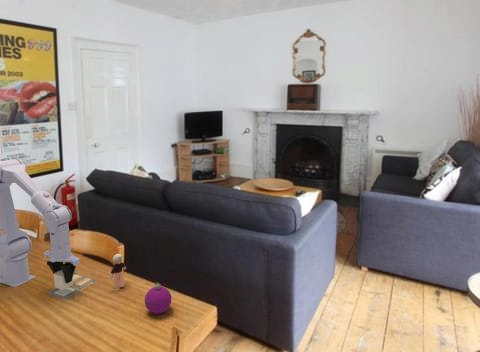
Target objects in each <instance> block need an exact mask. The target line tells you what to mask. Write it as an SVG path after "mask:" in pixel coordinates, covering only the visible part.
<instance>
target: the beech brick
mask: <svg viewBox="0 0 480 352" xmlns="http://www.w3.org/2000/svg"><path fill="white" fill-rule="evenodd" d="M82 276H83V275H81V276H79V275H78V274H76V275H73V285H72V286H70V287H73V288H76V289H80V290H81V289H83V288H84V287H86V286H88V285H90V284H91V283H92V280H91V279H92V278H91V279H89V278H90V277H88V278H86V277H87V276H84V277H82ZM91 285H92V284H91ZM91 285H90V286H91ZM88 287H89V286H88ZM86 288H87V287H86ZM83 290H84V289H83ZM81 291H82V290H81Z"/></svg>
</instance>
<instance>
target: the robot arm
mask: <svg viewBox="0 0 480 352" xmlns="http://www.w3.org/2000/svg"><path fill="white" fill-rule="evenodd" d="M13 183H14V184H16V185H17V186H18V187H19V188H20V189H22V190H23V191H24V192H25V193H26V194H27V195H28V196H29V197H30V199H31V200H30V203H31V204H32V205H33V206H34V207H35V209H37V211H39V213H40V214H41V215H42V216H43V222H44V224H45V225H46V229H47V231H48V233H49V240H50V249H51V250H49V249H48V250H46V251H44V252H43V256H44V257H43V258H45V259H48V258H49V260H48V261H46V265H47V266H48V267H49V269H50V270H51V272H52V273H53V274H54V273H56V272H58V271H60V270H62V271H63V274H64V279H65V282H66V283H69V282H71V281H72V278H73V273H74V270H75V268H76V269H77V266H79V265H81V258H79V257H77V256H76V255H74V254H73V253H72V250H71V239H70V228H69V226H70V225H69V222H71V221H72V218H73V215H72V211H71V210H70V208H69V207H68V206H67V205H63V204H60V203H58V202H57V201H56V199H54V197H53V196H52V195H51V194H50V193H49V192H48V191H46V190H41V189H40V188H39V187H38V185H37V184H36V182H34V180H33V179H32V178H31V176H30V175H29V174H28V173H27V166H26V165H25V164H24V163H23V161H22V160H21V159H19V158H13V159H7V160H0V230H1V234H0V283H1V284H5V285H8V286H10V287H13V288H17V287H19V286H21V285H23V284H26V283H27V282H29V281H31V280H33V279H35V278H36V276H35V275H32V274H30V267H29V266H30V265H29V259H28V256H29V255H30V252H31V250H32V247H33V243H32V240H31V239H30V238H29V236H28V235H29V234H28V232H27V231H24V230H22V229H20V225H19V220H18V216H17V212H16V209H15V204H14V200H13V196H12V192H11V188H10V187H11V186H12V184H13Z"/></svg>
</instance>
